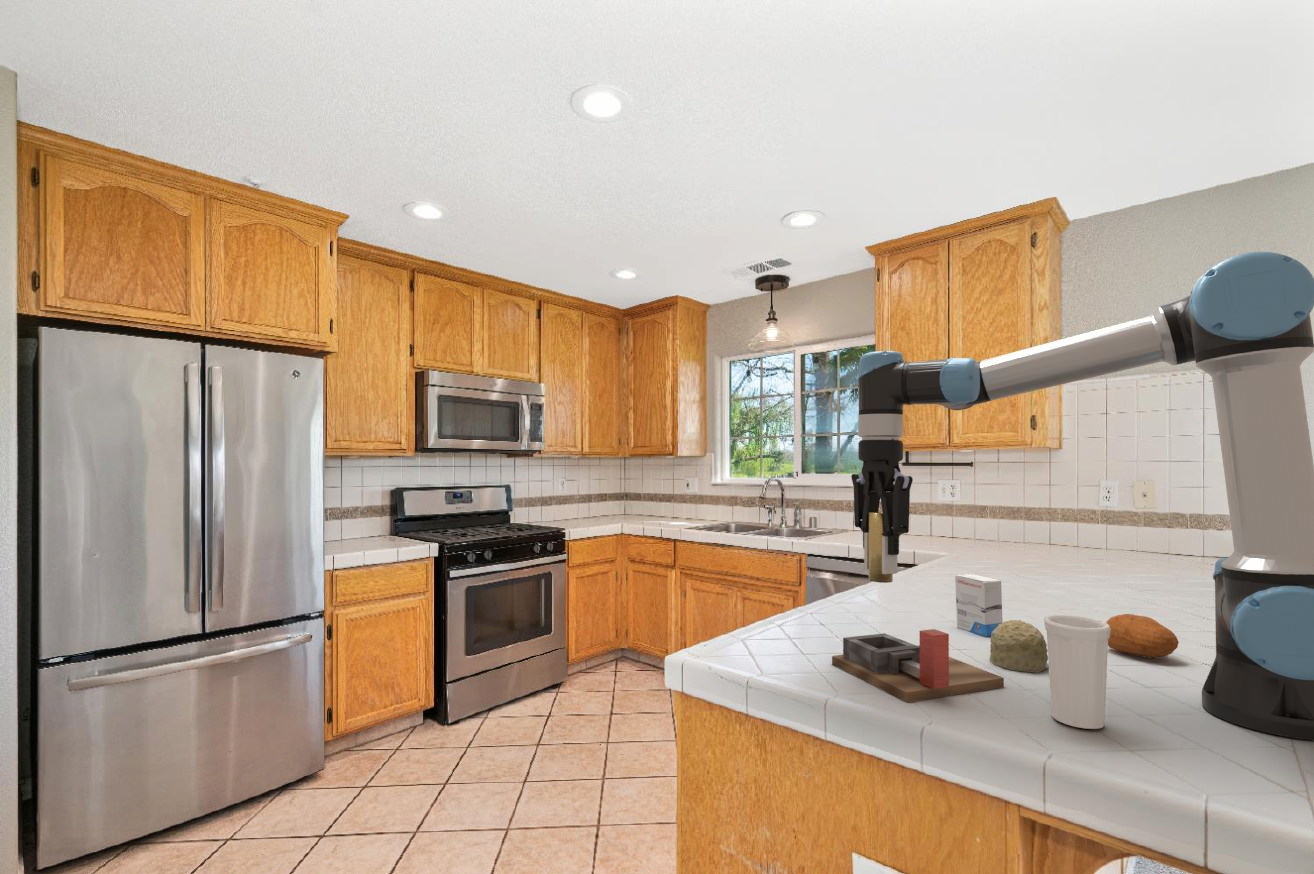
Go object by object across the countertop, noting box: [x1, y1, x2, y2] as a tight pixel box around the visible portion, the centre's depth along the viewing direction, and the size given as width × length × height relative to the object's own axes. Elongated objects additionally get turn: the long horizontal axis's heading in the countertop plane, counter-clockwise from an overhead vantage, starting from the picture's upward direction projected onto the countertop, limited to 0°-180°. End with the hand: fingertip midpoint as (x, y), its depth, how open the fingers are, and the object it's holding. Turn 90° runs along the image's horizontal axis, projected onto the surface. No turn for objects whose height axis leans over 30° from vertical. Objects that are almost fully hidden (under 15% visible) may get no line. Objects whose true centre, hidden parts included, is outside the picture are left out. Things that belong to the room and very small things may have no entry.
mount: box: [831, 632, 1005, 703], centre depth 110 cm, size 19×20×5 cm
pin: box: [899, 628, 950, 689], centre depth 104 cm, size 10×3×8 cm, turn 20°
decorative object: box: [989, 619, 1049, 673], centre depth 117 cm, size 9×10×10 cm
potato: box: [1105, 613, 1180, 659], centre depth 122 cm, size 9×11×8 cm
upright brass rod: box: [868, 511, 894, 584], centre depth 113 cm, size 4×4×12 cm
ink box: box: [955, 573, 1004, 638], centre depth 139 cm, size 9×5×12 cm, turn 17°
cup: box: [1043, 614, 1111, 730], centre depth 91 cm, size 8×8×14 cm
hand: (880, 570), depth 113 cm, fingers closed on upright brass rod, 4 cm apart
